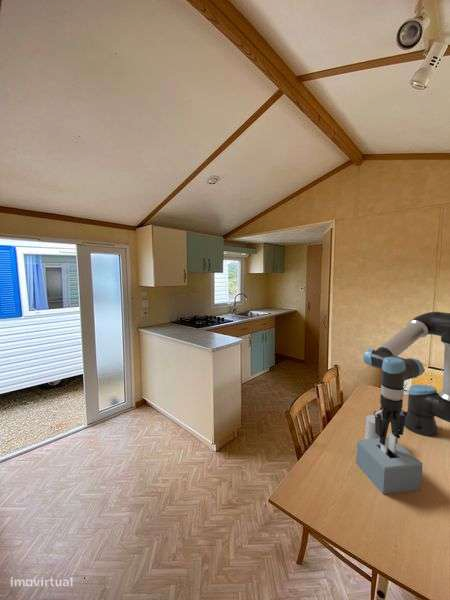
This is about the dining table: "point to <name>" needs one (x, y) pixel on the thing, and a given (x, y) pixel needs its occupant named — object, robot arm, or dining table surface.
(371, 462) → the coin box
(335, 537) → the dining table surface
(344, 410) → the dining table surface
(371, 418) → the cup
